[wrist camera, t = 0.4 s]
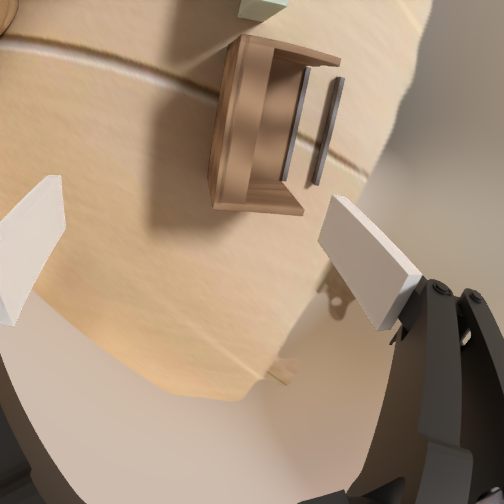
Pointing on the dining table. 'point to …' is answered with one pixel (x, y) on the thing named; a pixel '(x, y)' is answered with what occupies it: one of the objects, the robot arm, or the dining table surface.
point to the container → (7, 13)
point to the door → (260, 9)
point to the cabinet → (263, 124)
